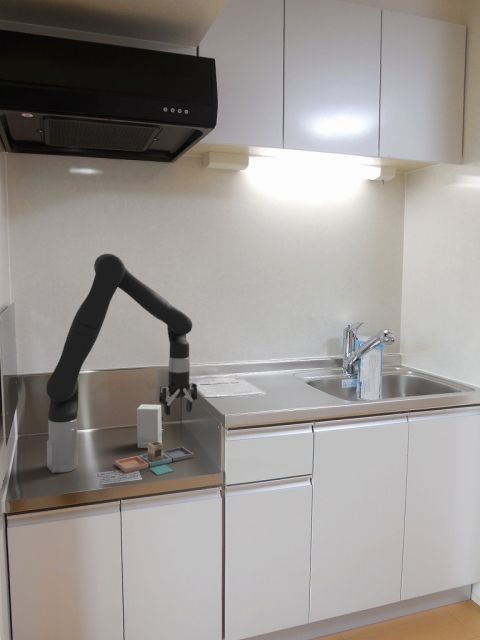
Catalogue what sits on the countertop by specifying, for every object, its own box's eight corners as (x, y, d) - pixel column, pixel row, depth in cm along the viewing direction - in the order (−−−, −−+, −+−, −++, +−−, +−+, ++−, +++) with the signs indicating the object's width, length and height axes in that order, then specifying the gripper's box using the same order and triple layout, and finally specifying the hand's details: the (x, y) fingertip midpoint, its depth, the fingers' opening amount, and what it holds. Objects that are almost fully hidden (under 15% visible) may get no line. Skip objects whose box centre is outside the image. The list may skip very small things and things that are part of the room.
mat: (157, 475, 173) (157, 474, 173) (149, 469, 178) (149, 468, 178) (173, 471, 177) (173, 470, 177) (165, 465, 182) (165, 464, 182)
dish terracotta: (125, 473, 174) (125, 468, 174) (115, 464, 181) (115, 460, 181) (148, 467, 179) (148, 463, 179) (137, 459, 186) (137, 455, 186)
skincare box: (162, 443, 203) (162, 404, 202) (157, 449, 197) (158, 409, 195) (141, 442, 204) (141, 403, 202) (136, 448, 198) (136, 408, 196)
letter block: (152, 463, 183) (153, 446, 182) (147, 459, 186) (147, 442, 185) (163, 460, 185) (163, 444, 184) (157, 457, 188) (158, 440, 188)
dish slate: (149, 467, 180) (149, 463, 179) (139, 459, 186) (139, 455, 186) (171, 462, 185) (171, 458, 184) (160, 454, 191) (160, 451, 191)
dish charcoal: (172, 462, 185) (173, 458, 185) (161, 454, 192) (161, 450, 192) (193, 457, 190) (193, 453, 190) (182, 450, 197) (182, 446, 196)
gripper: (166, 373, 180) (165, 419, 182) (201, 369, 188) (200, 413, 190) (156, 369, 186) (155, 413, 188) (190, 365, 194) (190, 408, 196)
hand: (178, 413), depth 189 cm, fingers open, 8 cm apart
